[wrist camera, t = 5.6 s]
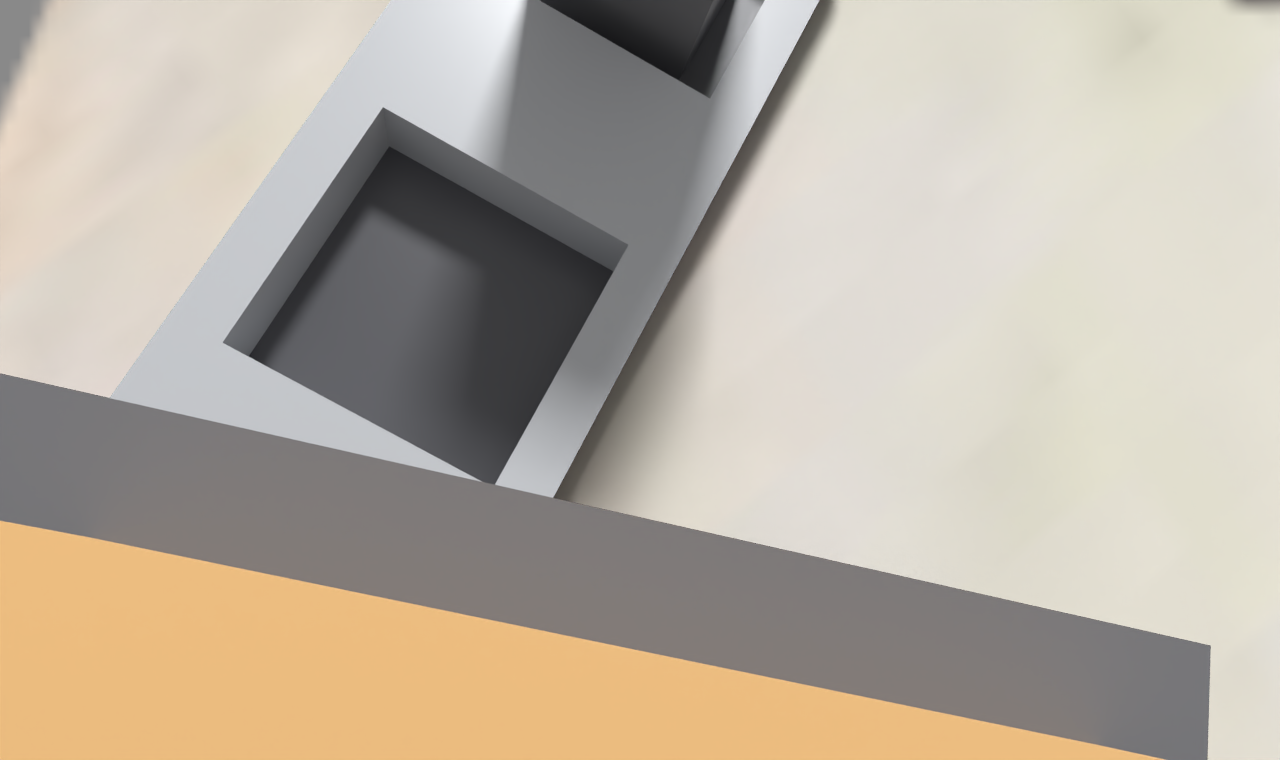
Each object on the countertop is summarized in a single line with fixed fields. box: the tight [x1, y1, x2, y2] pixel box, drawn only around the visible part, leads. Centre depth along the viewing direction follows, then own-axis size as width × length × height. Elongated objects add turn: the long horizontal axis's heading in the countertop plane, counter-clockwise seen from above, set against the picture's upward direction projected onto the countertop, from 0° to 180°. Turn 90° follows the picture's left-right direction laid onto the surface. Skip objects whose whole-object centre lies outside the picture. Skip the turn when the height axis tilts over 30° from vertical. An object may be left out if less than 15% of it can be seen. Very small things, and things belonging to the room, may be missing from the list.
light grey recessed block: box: [110, 0, 819, 498], centre depth 23 cm, size 22×9×2 cm, turn 153°
